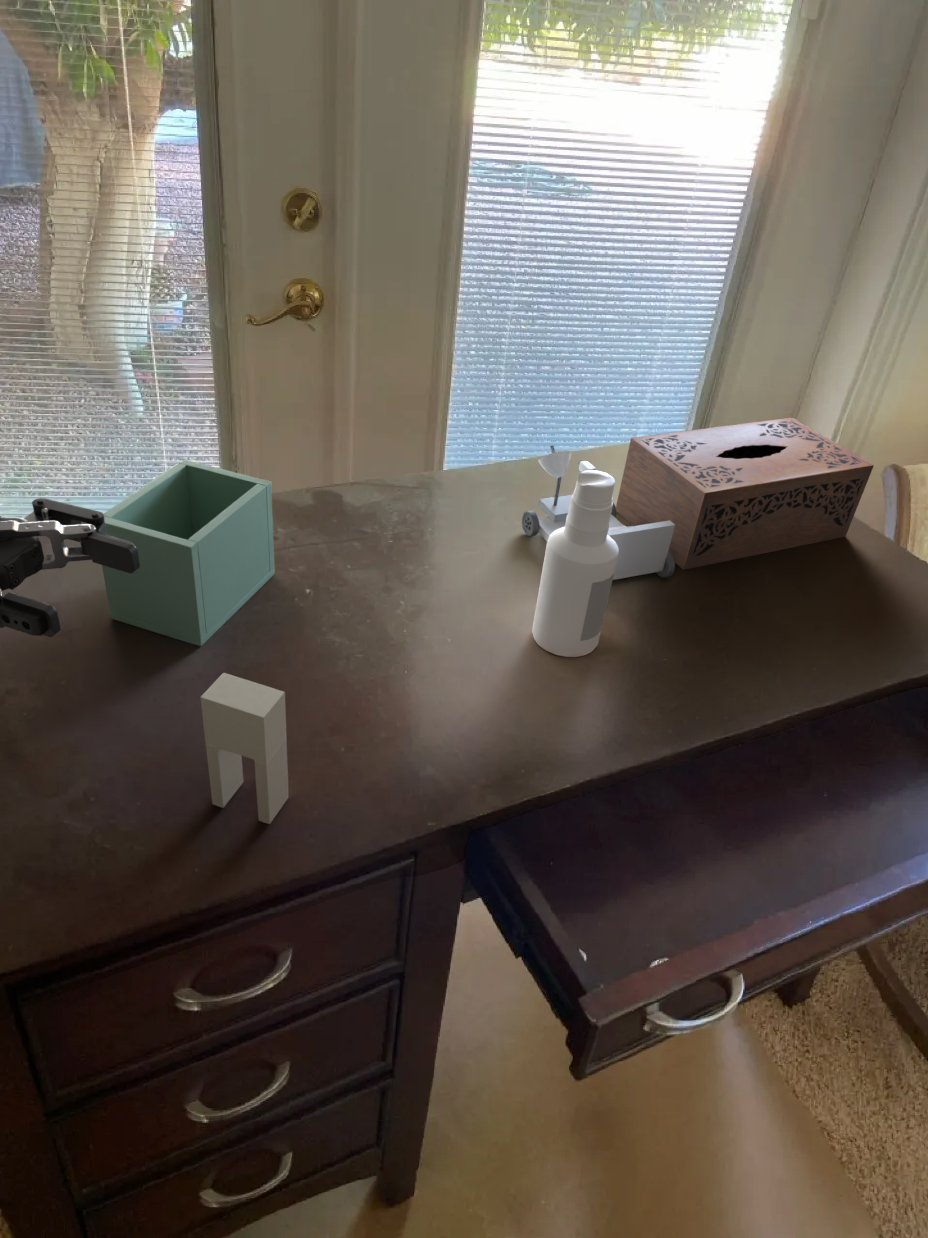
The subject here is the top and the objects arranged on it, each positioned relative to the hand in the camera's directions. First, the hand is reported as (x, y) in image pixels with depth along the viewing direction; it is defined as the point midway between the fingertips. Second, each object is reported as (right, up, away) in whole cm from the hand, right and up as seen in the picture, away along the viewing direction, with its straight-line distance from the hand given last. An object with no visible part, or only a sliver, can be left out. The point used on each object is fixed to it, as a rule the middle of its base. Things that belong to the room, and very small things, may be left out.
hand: (98, 589), depth 62 cm
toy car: (+40, +6, +43) cm, 59 cm away
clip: (+9, -16, +7) cm, 20 cm away
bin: (-2, 0, +28) cm, 28 cm away
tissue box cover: (+60, +10, +51) cm, 79 cm away
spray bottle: (+36, -4, +28) cm, 46 cm away
